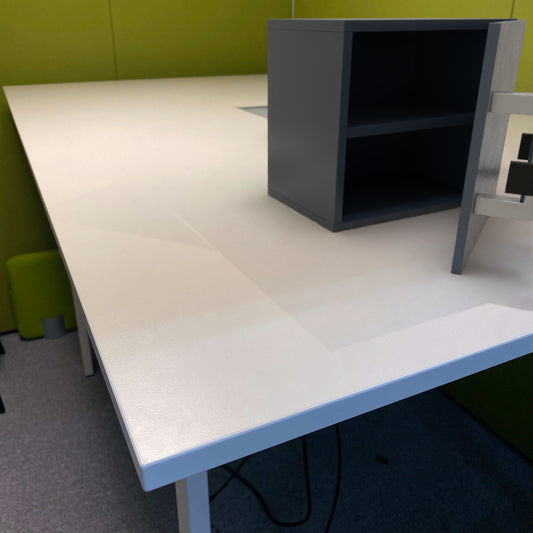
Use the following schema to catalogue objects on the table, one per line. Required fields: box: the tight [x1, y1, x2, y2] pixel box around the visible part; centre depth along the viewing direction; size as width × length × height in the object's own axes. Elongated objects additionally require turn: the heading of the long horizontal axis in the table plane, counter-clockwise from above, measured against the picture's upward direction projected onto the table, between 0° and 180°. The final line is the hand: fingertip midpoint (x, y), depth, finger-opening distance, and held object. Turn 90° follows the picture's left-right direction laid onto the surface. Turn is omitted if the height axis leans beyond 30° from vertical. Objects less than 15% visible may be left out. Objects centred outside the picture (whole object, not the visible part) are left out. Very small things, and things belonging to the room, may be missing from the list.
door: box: [450, 19, 533, 275], centre depth 62 cm, size 7×26×24 cm, turn 152°
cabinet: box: [267, 17, 518, 234], centre depth 76 cm, size 18×26×24 cm
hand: (513, 159), depth 53 cm, fingers open, 13 cm apart
